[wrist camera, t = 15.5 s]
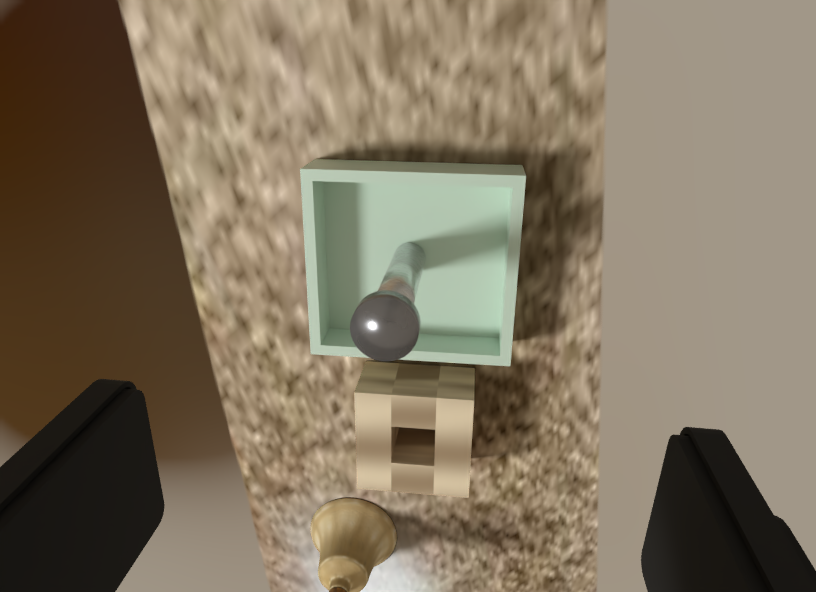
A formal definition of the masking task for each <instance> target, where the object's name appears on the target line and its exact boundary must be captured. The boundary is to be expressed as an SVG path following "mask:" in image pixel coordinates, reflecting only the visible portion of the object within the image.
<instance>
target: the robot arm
mask: <svg viewBox="0 0 816 592" xmlns="http://www.w3.org/2000/svg"><path fill="white" fill-rule="evenodd" d="M163 512H164V500H163V494H162V489H161V483H160V478H159V472H158V467H157V461H156V456H155V451H154V446H153V440H152V435H151V429H150V424H149V418H148V413H147V407H146V402H145V397H144V394H143V393H142V391H140V390H137V389H136V387H135V385H134V384H133V383H132V382H130V381H120V380H107V379H99V380H96V381H95V382H93V383H92V384H91V385H90V386H89V387H88V388H87V389H86V390H85V391H84V392H82V393H81V394H80V395H79V396H78V397H77V398H76V399H75V400H74V401H72V402H71V403H70V405H68V406H67V407H66V408H65V409H64V410H63V411H61V412H60V413H59V414H58V415H57V416H56V417H55V418H54V419H53V420H52V421H51V422H49V423H48V424H47V425H46V426H45V427H44V428H43V429H42V430H41V431H39V432H38V433H37V434H36V435H35V436H34V437H33V438H32V439H31V440H30V441H28V443H26V444H25V445H24V446H23V447H22V448H21V449H20V450H19V451H18V452H17V453H15V454H14V455H13V456H12V457H11V458H10V459H9V460H8V461H7V462H5V463H4V464H3V465H2V466H1V467H0V592H115V591H116V590H117V588H118V587H119V585H120V583H121V582H122V581H123V579H124V577H125V576H126V574H127V573H128V571H129V570H130V568H131V567H132V565H133V564H134V562H135V561H136V559H137V558H138V556H139V555H140V553H141V551H142V550H143V548H144V547H145V545H146V544H147V542H148V541H149V539H150V538H151V536H152V535H153V533H154V532H155V530H156V528H157V527H158V525H159V523H160V522H161V519H162V516H163ZM641 565H642V573H643V577H644V580H645V584H646V587H647V590H648V592H816V571H815V569H814V567H813V566H812V564H811V562H810V561H809V559H808V558H807V556H806V554H805V553H804V551H803V550H802V548H801V546H800V545H799V543H798V541H797V540H796V538H795V536H794V535H793V533H792V531H791V530H790V528H789V527H788V526H787V524H786V523H785V522H784V521H783V520H782V519H781V518H779V517H777V516H774V515H773V513H772V511H771V510H770V508H769V506H768V505H767V503H766V501H765V500H764V498H763V496H762V495H761V493H760V492H759V490H758V488H757V486H756V485H755V483H754V481H753V480H752V478H751V476H750V475H749V473H748V471H747V470H746V468H745V466H744V465H743V463H742V461H741V460H740V458H739V456H738V454H737V453H736V451H735V449H734V448H733V446H732V444H731V443H730V441H729V439H728V438H727V436H726V435H725V433H724V432H723V431H721V430H716V429H704V428H692V427H685V428H683V430H682V431H681V433H680V435H672V436H671V437H670V439H669V442H668V445H667V450H666V454H665V458H664V462H663V466H662V471H661V475H660V479H659V483H658V487H657V491H656V496H655V499H654V504H653V508H652V512H651V516H650V520H649V524H648V528H647V533H646V537H645V541H644V545H643V549H642V555H641Z"/></svg>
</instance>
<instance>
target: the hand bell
mask: <svg viewBox="0 0 816 592" xmlns="http://www.w3.org/2000/svg"><path fill="white" fill-rule="evenodd" d="M310 530H311V536H312V540H313V543H314V545H315V547H316V548H317V550H318V551H319V552H320V562H319V568H318V576H319V579H320V581H321V583H322V585H323V586H324V587H325V588H326V589H328V590H329V592H359V591H361V590H362V589H363V588H364V587H365V586H366V584H367V582H368V579H369V576H370V573H371V571H372V569H373V567H374V566H377V565H379V564H380V563H382V562H383V561H385V560H386V559H387V558H388V557H389V556H390V555H391V553H392V552H393V550H394V548H395V546H396V541H397V533H396V528H395V526H394V523H393V522H392V520H391V518H390V517H389V516H388V515H387V514H386V513H385V512H384V511H383V510H382V509H381V508H379V507H378V506H376V505H374V504H372V503H370V502H367V501H364V500H361V499H354V498H341V499H336V500H333V501H330V502H328V503H326V504H324V505H323V506H322V507H320V508H319V509H318V510H317V511H316V513H315V514H314V516H313V518H312V521H311V528H310Z"/></svg>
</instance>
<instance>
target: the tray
mask: <svg viewBox="0 0 816 592" xmlns="http://www.w3.org/2000/svg"><path fill="white" fill-rule="evenodd" d="M300 174H301V192H302V209H303V226H304V244H305V261H306V279H307V296H308V314H309V331H310V349H311V354H318V355H334V356H350V357H366V358H370V357H368V356H366V355H365V354H363V353H362V352H361V351H360V350H359V349H358V348H357V347H356V345H355V344H354V342H353V340H352V337H351V334H350V322H351V318H352V316H353V314H354V312H355V310H356V308H357V306H358V304H359V303H360V301H361V300H362V299H363V298H365V297H366V296H367V295H369V294H371V293H373V292H376V291H378V289H379V287H380V284H381V282H382V280H383V278H384V275H385V273H386V271H387V269H388V266H389V264H390V262H391V260H392V257H393V255H394V253H395V251H396V249H397V248H398V247H399V246H400V245H401V244H403V243H407V242H412V243H415V244H418V245H419V246H420V247H421V248H422V249H423V250H424V252H425V255H426V261H425V265H424V269H423V272H422V276H421V280H420V283H419V287H418V291H417V294H416V298H415V302H414V305H415V306H416V308H417V310H418V312H419V315H420V321H421V325H420V331H419V335H418V340H417V342H416V345H415V346H414V348H413V349H412V351H411V352H410V353H409V354H407V355H406V356H405V357H403V358H401V359H399V360H415V361H431V362H447V363H463V364H480V365H496V366H510V364H511V352H512V340H513V328H514V316H515V304H516V292H517V280H518V268H519V256H520V244H521V231H522V219H523V207H524V195H525V183H526V174H525V171H524V168H523V166H522V165H504V164H469V163H435V162H400V161H366V160H331V159H315V160H313V161H311V162H310V163H308V164H307V165H305V166H304V167H302V168H301V169H300Z"/></svg>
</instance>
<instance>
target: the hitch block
mask: <svg viewBox="0 0 816 592" xmlns="http://www.w3.org/2000/svg"><path fill="white" fill-rule="evenodd" d="M474 387H475V368H468V367H452V366H436V365H420V364H404V363H388V362H372V361H366V363H365V365H364V368H363V371H362V373H361V376H360V379H359V381H358V384H357V387H356V390H355V392H354V395H355V432H356V468H357V489H368V490H380V491H392V492H404V493H416V494H428V495H440V496H451V497H463V498H468V497H469V481H470V464H471V447H472V430H473V413H474Z"/></svg>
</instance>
